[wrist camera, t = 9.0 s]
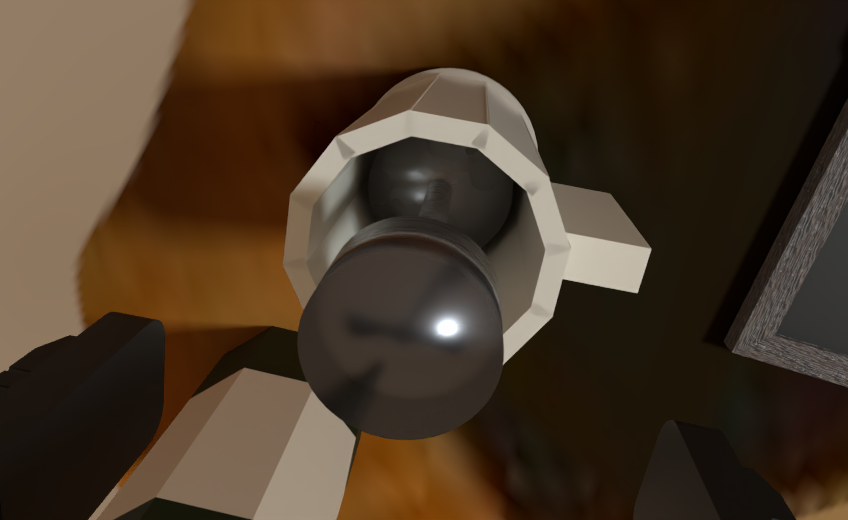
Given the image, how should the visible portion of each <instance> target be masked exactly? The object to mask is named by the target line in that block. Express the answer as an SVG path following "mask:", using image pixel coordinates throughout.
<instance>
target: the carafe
mask: <svg viewBox="0 0 848 520" xmlns="http://www.w3.org/2000/svg"><path fill="white" fill-rule="evenodd" d="M411 136H414V137H419V138H424V139H430V140H435V141H440V142H446V143H451V144H456V145H462V146H467V147H472V148H477V149H478V150H480V151H481V152H482V153H483V154H484V155H485V156H486V157H488V158H489V159H490V160H491V161H492V162H493V163H495V164H496V165H497V166H498V167H499V168H500V169H501V170H503V171H504V172H505V173H506V174H507V175H508V176H510V177H511V178H512V182H513V197H512V203H511V207H510V211H509V214H508V216H507V218H506V220H505V222H504V224H503V226H502V227H501V229H500V230H499V232H498V233H497V234H496V235H495V236H494V237H493V238H492V239H491V240H490V241H489V242H488V243H487V244H485V245H484V246H483V247H481V249H482V250H483V252H484V253H485V254H486V255H487V257H488V259H489V260H490V262H491V264H492V266H493V268H494V271H495V273H496V276H497V279H498V283H499V289H500V298H501V312H502V327H503V342H504V361H503V365H504V363H505V362H506V361H507V360H508V359H509V358H510V357H511V356H512V355H513V354H514V353H516V352H517V351H518V350H519V349H520V348H521V347H522V346H523V345H524V344H525V343H526V342H527V341H528V340H529V339H530V338H531V337H532V336H533V335H534V334H535V333H536V332H537V331H538V330H539V329H540V328H541V327H542V326H543V325H544V324H545V323H547V322H548V321H549V320H550V319H551V318H552V317H553V312H554V309H555V305H556V301H557V297H558V294H559V290H560V286H561V282H562V279H566V280H571V281H576V282H582V283H587V284H592V285H597V286H602V287H608V288H613V289H618V290H623V291H629V292H634V293H638V290H639V287H640V284H641V281H642V277H643V274H644V271H645V268H646V265H647V261H648V258H649V255H650V252H651V247H650V246H649V245H648V243H647V242H646V241H645V240H644V238H643V237H642V236H641V234H640V233H639V232H638V230H637V229H636V228H635V226H634V225H633V224H632V222H631V221H630V220H629V218H628V217H627V216H626V214H625V213H624V212H623V210H622V209H621V208H620V206H619V205H618V204H617V202H616V201H615V200H614V198H613V197H612V196H611V194H609V193H604V192H598V191H593V190H588V189H582V188H577V187H572V186H566V185H561V184H556V183H551V182H550V181H549V176H548V173H547V171H546V169H545V167H544V164H543V162H542V160H541V157H540V155H539V153H538V148H537V141H536V137H535V133H534V130H533V127H532V125H531V122H530V120H529V118H528V116H527V114H526V112H525V111H524V109H523V107H522V106H521V104H520V103H519V102H518V100H517V99H516V98H515V97H514V96H513V95H512V94H511V93H510V92H509V91H508V90H507V89H506V88H505V87H503V86H502V85H501V84H500V83H498V82H497V81H495V80H493V79H491V78H490V77H488V76H486V75H483V74H481V73H478V72H475V71H472V70H468V69H462V68H454V67H447V68H435V69H429V70H426V71H422V72H419V73H416V74H414V75H412V76H410V77H408V78H406V79H404V80H403V81H401V82H399V83H398V84H396V85H395V86H394V87H392V88H391V89H390V90H389V91H388V92H387V93H385V94H384V95H383V97H382V98H381V99H380V100H379V101H378V102H377V103H376V105H375V106H374V107H373V108H372V109H370V110H369V111H368V112H367V113H365V114H364V115H363V116H361V117H360V118H359V119H358V120H356V121H355V122H354V123H352V124H351V125H350V126H348V127H347V128H346V129H345V130H343V131H342V132H341V133H339V134H338V135H337V136H336V137H334V140H333V141H332V142H331V143H330V145H329V146H328V147H327V149H326V150H325V151H324V152H323V154H322V155H321V156H320V158H319V159H318V160H317V161H316V163H315V164H314V165H313V167H312V168H311V169H310V170H309V172H308V173H307V174H306V176H305V177H304V178H303V179H302V181H301V182H300V183H299V184H298V186H297V187H296V188H295V190H294V191H293V192H292V193H291V194H290V202H289V211H288V221H287V231H286V241H285V250H284V260H283V266H284V268H285V271H286V273H287V275H288V277H289V279H290V282H291V284H292V286H293V288H294V290H295V292H296V295H297V297H298V299H299V301H300V303H301V306H302V308H303V310H304V308H305V306H306V305H307V303H308V301H309V299H310V297H311V296H312V294H313V292H314V291H315V289H316V288H317V286H318V284H319V283H320V281H321V280H322V278H323V276H324V275H325V273H326V272H327V270H328V268H329V267H330V265H331V264H332V262H333V260H334V259H335V257H336V256H337V254H338V253H339V251H340V250H341V249H342V247H343V246H344V245H345V244H346V243H347V241H348V240H349V239H350V238H351V237H353V236H354V235H355V234H356V233H358V232H359V231H360V230H362V229H364V228H365V227H367V226H369V225H371V224H373V223H376V222H377V221H376V219H375V217H374V215H373V212H372V209H371V206H370V201H369V196H368V180H369V174H370V169H371V166H372V163H373V161H374V159H375V157H376V155H377V153H378V151H379V150H380V148H381V147H383V146H386V145H388V144H391V143H394V142H397V141H399V140H402V139H405V138H408V137H411Z"/></svg>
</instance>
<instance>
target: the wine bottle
mask: <svg viewBox="0 0 848 520" xmlns="http://www.w3.org/2000/svg"><path fill="white" fill-rule="evenodd" d="M297 342H298V332H295V331H291V330H286V329H282V328H278V327H274V326H272V327H271V328H269V329H267V330H266V331H264V332H262V333H261V334H259V335H257V336H255V337H254V338H252V339H250V340H249V341H247V342H245V343H243V344H242V345H240V346H238V347H237V348H235V349H233V350H232V351H230V352H228V353H226V354H225V355H224V356H223V357H222V358H221V360H220V361H219V362H218V363H217V365H216V366H215V367H214V369H213V370H212V371H211V372H210V374H209V375H208V376H207V378H206V379H205V380H204V382H203V383H202V384H201V385H200V387H199V388H198V389H197V391H196V392H195V393H194V394H193V396H192V397H191V398H190V400H189V401H188V402H187V404H186V405H185V406H184V407H183V409H182V410H181V411H180V413H179V414H178V415H177V416H176V418H175V419H174V420H173V422H172V423H171V424H170V426H169V427H168V428H167V429H166V431H165V432H164V433H163V435H162V436H161V437H160V438H159V440H158V441H157V442H156V444H155V445H154V446H153V448H152V449H151V450H150V451H149V453H148V454H147V455H146V457H145V458H144V459H143V460H142V462H141V463H140V464H139V466H138V467H137V468H136V470H135V471H134V472H133V473H132V475H131V476H130V477H129V479H128V480H127V481H126V482H125V484H124V485H123V486H122V488H121V489H120V490H119V492H118V493H117V494H116V495H115V497H114V498H113V499H112V501H111V502H110V503H109V504H108V506H107V507H106V508H105V510H104V511H103V512H102V514H101V515H100V516H99V517H98V519H97V520H336V519H337V516H338V512H339V509H340V505H341V502H342V498H343V495H344V492H345V488H346V485H347V481H348V478H349V474H350V471H351V468H352V464H353V461H354V457H355V454H356V450H357V447H358V444H359V440H360V436H361V430H358V429H356V428H355V427H353V426H351V425H349V424H347V423H345V422H344V421H342V420H341V419H339V418H338V417H337V416H335V415H334V414H333V413H332V412H331V411H329V410H328V409H327V408H326V407H325V406H324V405H323V403H322V402H321V401H320V400H319V399H318V398H317V396H316V395H315V394H314V392H313V391H312V389H311V387H310V386H309V384H308V382H307V380H306V378H305V376H304V373H303V371H302V368H301V364H300V360H299V355H298V345H297Z"/></svg>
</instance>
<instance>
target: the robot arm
mask: <svg viewBox="0 0 848 520" xmlns="http://www.w3.org/2000/svg"><path fill="white" fill-rule="evenodd" d="M164 355H165V331H164V327H163V324H162V323H161V322H160V321H159V320H155V319H149V318H144V317H139V316H134V315H129V314H123V313H118V312H110V313H107V314H106V315H104V316H103V317H102V318H101V319H99V320H98V321H97V322H95V323H94V324H93V325H91V326H90V327H89V328H87V329H86V330H85V331H83V332H82V333H81V334H79V335H78V336H71V335H69V336H67V337H64V338H61V339H59V340H56V341H54V342H51V343H48V344H45V345H43V346H40V347H37V348H35V349H34V350H32V351H31V352H29V353H28V354H27V355H26V356H24V357H22V358H21V359H20V360H18V361H17V362H16V363H14V364H13V365H11V366H10V367H9V370H8V371H3V372H1V373H0V520H88V519H89V518H90V516H91V515H92V514H93V513H94V512H95V510H96V509H97V508H98V507H99V505H100V504H101V503H102V502H103V500H104V499H105V497H106V496H107V495H108V494H109V493H110V492H111V491H112V489H113V488H114V487H115V486H116V484H117V483H118V482H119V481H120V479H121V478H122V477H123V476H124V474H125V473H126V472H127V471H128V470H129V468H130V467H131V466H132V465H133V463H134V462H135V461H136V460H137V458H138V457H139V456H140V455H141V454H142V452H143V451H144V450H145V449H146V447H147V446H148V445H149V443H150V442H151V441H152V439H153V437H154V435H155V433H156V431H157V429H158V426H159V423H160V420H161V416H162V411H163V402H164ZM633 520H796V519H795V517H794V516H793V514H792V512H791V511H790V509H789V507H788V506H787V504H786V502H785V501H784V499H783V498H782V496H781V495H780V494H779V493H778V492H777V491H776V490H775V489H774V488H773V487H772V486H771V485H769V484H768V483H767V482H766V481H765V480H764V479H763V478H762V477H761V476H760V475H759V474H758V473H757V472H755V471H754V470H753V469H750V468H745V467H742V465H741V463H740V462H739V460H738V458H737V456H736V454H735V453H734V451H733V449H732V447H731V446H730V444H729V442H728V440H727V438H726V437H725V435H724V434H723V432H722V431H721V430H719V429H716V428H710V427H705V426H700V425H695V424H690V423H684V422H679V421H674V420H668V421H667V422H666V423H665V424H664V425H663V427H662V428H661V431H660V433H659V436H658V439H657V442H656V444H655V447H654V450H653V453H652V456H651V459H650V462H649V465H648V468H647V470H646V473H645V476H644V479H643V482H642V485H641V488H640V491H639V494H638V496H637V500H636V504H635V509H634V518H633Z"/></svg>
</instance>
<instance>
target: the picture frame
mask: <svg viewBox="0 0 848 520" xmlns="http://www.w3.org/2000/svg"><path fill="white" fill-rule="evenodd" d="M723 342H724V343H725V344H726V346H727V347H728V348H729V350H730V351H731V352H732V353H735V354H739V355H742V356H745V357H749V358H752V359H755V360H759V361H762V362H766V363H769V364H772V365H776V366H779V367H782V368H786V369H789V370H792V371H796V372H799V373H802V374H806V375H809V376H812V377H816V378H819V379H823V380H826V381H829V382H833V383H836V384H839V385H843V386H846V387H848V99H847V101H846V102H845V104H844V106H843V108H842V110H841V112H840V114H839V116H838V118H837V120H836V122H835V124H834V126H833V128H832V130H831V132H830V134H829V136H828V138H827V140H826V142H825V144H824V146H823V147H822V149H821V151H820V153H819V155H818V157H817V159H816V161H815V163H814V165H813V167H812V169H811V171H810V173H809V175H808V177H807V179H806V181H805V183H804V185H803V187H802V189H801V191H800V193H799V194H798V196H797V198H796V200H795V202H794V204H793V206H792V208H791V210H790V212H789V214H788V216H787V218H786V220H785V222H784V224H783V226H782V228H781V230H780V232H779V234H778V236H777V238H776V239H775V241H774V243H773V245H772V247H771V249H770V251H769V253H768V255H767V257H766V259H765V261H764V263H763V265H762V267H761V269H760V271H759V273H758V275H757V277H756V279H755V281H754V283H753V284H752V286H751V288H750V290H749V292H748V294H747V296H746V298H745V300H744V302H743V304H742V306H741V308H740V310H739V312H738V314H737V316H736V318H735V320H734V322H733V324H732V326H731V328H730V330H729V331H728V333H727V335H726V337H725V339H724V341H723Z"/></svg>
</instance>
